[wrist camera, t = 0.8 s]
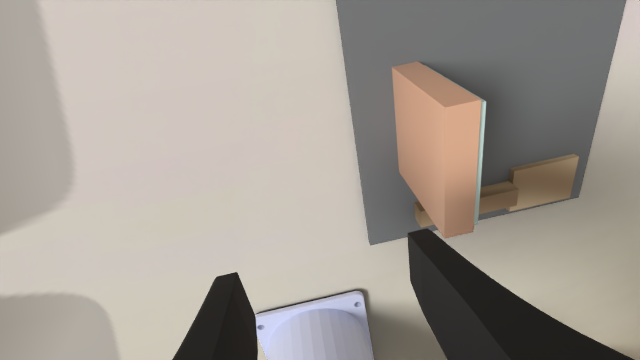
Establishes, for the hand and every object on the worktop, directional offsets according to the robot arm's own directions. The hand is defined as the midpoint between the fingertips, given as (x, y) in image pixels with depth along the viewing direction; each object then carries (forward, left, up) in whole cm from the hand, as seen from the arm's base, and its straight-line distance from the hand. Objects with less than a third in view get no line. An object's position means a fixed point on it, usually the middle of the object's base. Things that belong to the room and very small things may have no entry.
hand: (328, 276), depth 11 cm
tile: (0, -6, -10) cm, 11 cm away
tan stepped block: (-6, -11, -10) cm, 16 cm away
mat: (0, -10, -10) cm, 14 cm away
